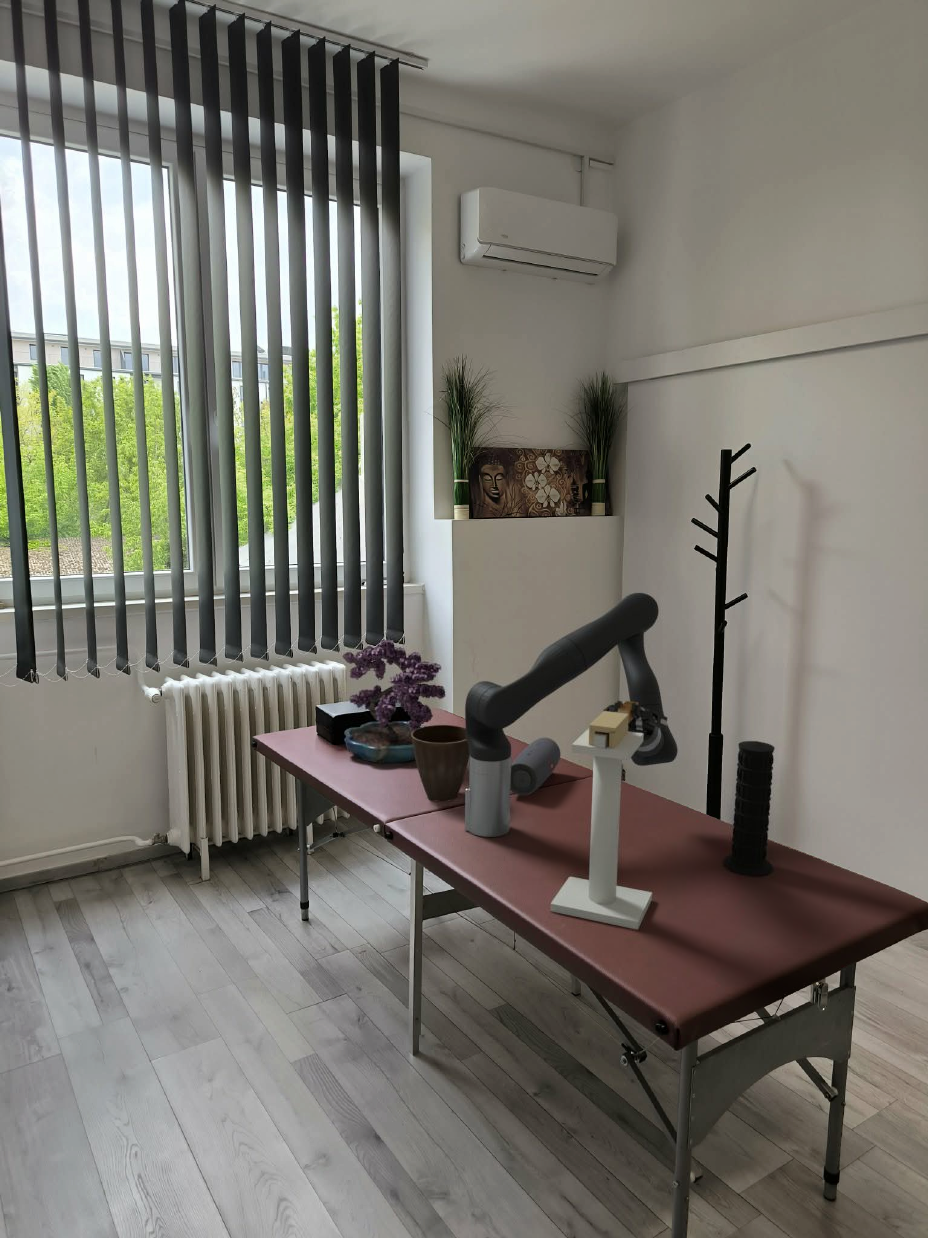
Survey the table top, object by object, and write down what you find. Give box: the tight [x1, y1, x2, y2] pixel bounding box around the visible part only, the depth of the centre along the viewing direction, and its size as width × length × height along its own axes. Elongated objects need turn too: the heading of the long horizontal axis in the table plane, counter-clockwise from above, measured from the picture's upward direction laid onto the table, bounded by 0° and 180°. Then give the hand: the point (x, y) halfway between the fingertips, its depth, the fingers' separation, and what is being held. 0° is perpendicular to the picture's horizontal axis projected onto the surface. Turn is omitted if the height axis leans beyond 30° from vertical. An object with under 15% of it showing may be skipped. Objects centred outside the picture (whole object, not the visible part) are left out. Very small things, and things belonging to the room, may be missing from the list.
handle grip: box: [722, 740, 776, 878], centre depth 180 cm, size 10×26×10 cm
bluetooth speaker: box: [510, 737, 561, 796], centre depth 227 cm, size 23×9×10 cm, turn 160°
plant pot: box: [411, 724, 469, 802], centre depth 218 cm, size 15×15×16 cm
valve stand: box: [550, 710, 653, 931], centre depth 162 cm, size 16×12×36 cm
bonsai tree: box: [342, 638, 446, 764], centre depth 247 cm, size 35×27×32 cm
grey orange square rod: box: [593, 700, 638, 748], centre depth 165 cm, size 2×25×2 cm, turn 157°
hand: (625, 706), depth 171 cm, fingers closed on grey orange square rod, 2 cm apart
